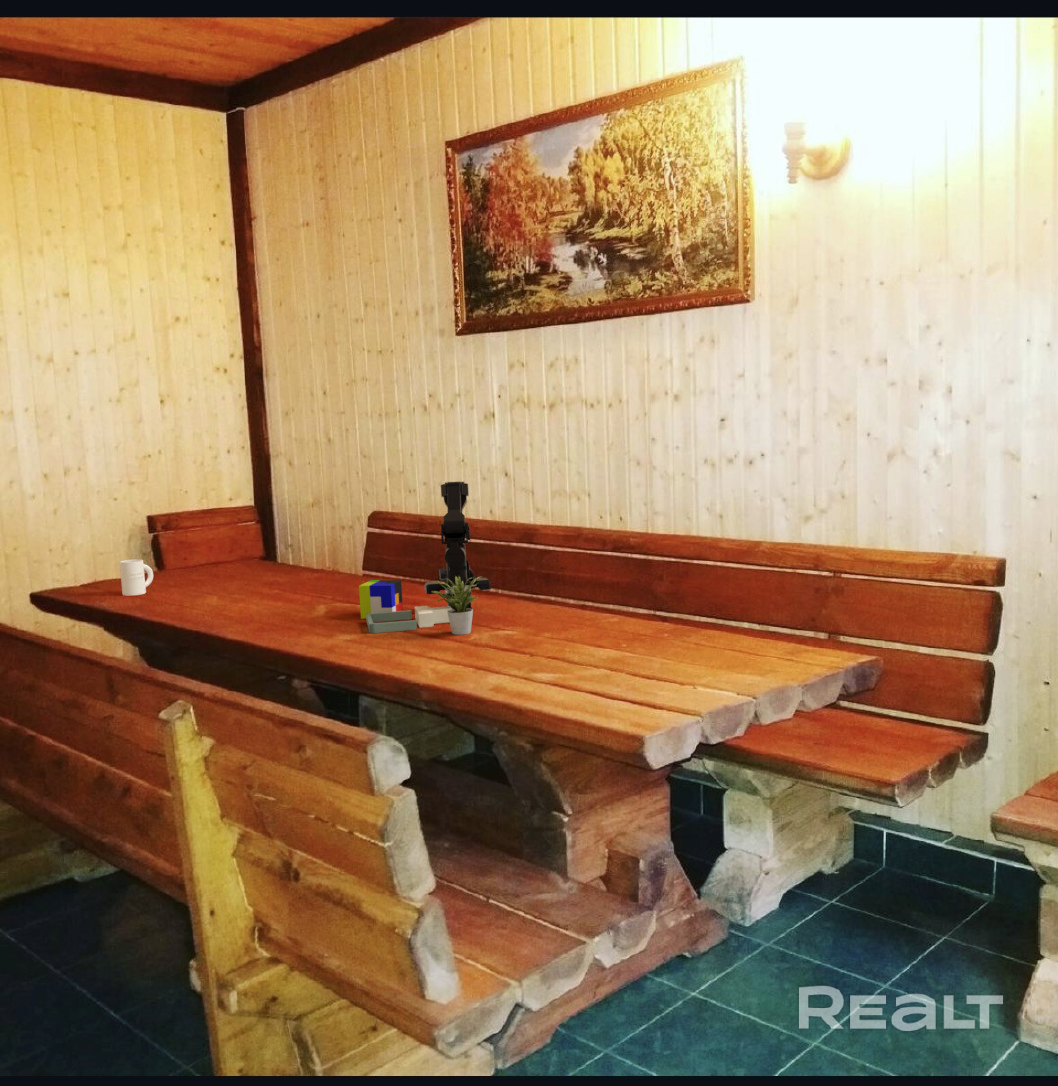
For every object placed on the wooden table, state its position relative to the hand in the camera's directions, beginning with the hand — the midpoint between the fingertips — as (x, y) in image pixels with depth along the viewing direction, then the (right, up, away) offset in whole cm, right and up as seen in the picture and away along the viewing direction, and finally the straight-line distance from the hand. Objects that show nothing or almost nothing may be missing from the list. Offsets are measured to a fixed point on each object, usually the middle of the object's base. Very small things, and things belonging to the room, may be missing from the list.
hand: (459, 615), depth 324 cm
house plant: (+2, -4, -17) cm, 17 cm away
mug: (-120, +3, +78) cm, 144 cm away
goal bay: (-20, -3, -4) cm, 20 cm away
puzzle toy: (-24, -1, +14) cm, 28 cm away
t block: (-8, -2, -1) cm, 8 cm away
